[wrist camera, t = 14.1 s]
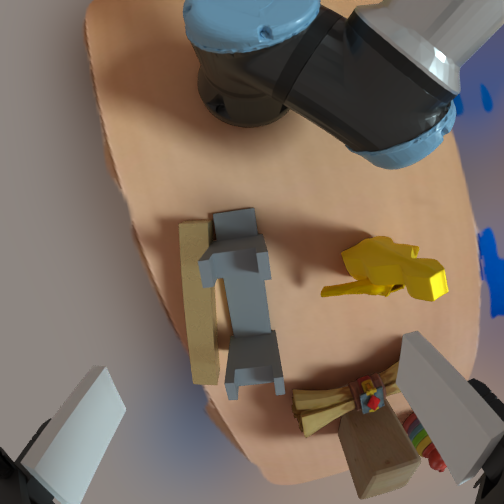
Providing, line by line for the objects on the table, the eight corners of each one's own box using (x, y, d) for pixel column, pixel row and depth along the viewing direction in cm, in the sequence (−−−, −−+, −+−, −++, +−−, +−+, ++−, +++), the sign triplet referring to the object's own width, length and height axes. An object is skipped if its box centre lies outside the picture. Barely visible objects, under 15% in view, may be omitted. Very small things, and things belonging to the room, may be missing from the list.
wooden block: (342, 403, 49) (372, 477, 30) (386, 395, 49) (424, 460, 30) (336, 433, 51) (357, 502, 32) (376, 425, 51) (406, 487, 32)
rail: (186, 220, 42) (178, 224, 37) (212, 219, 42) (207, 223, 37) (198, 367, 47) (193, 383, 42) (220, 368, 47) (217, 385, 42)
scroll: (296, 414, 50) (303, 449, 40) (284, 381, 48) (291, 418, 38) (417, 367, 48) (440, 394, 38) (417, 331, 46) (443, 356, 36)
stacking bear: (427, 427, 53) (454, 470, 35) (396, 437, 53) (421, 485, 35) (440, 399, 50) (474, 442, 33) (408, 408, 50) (440, 458, 33)
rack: (209, 214, 42) (191, 223, 29) (258, 207, 41) (262, 213, 29) (237, 369, 47) (234, 420, 34) (279, 364, 47) (287, 414, 34)
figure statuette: (320, 299, 44) (370, 380, 23) (303, 255, 43) (350, 314, 21) (411, 255, 43) (499, 297, 21) (399, 212, 41) (495, 231, 20)
